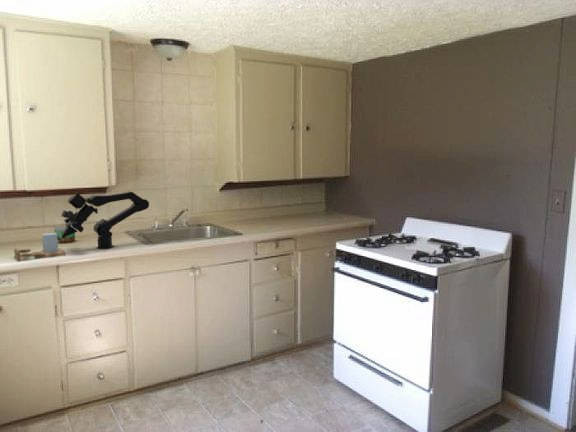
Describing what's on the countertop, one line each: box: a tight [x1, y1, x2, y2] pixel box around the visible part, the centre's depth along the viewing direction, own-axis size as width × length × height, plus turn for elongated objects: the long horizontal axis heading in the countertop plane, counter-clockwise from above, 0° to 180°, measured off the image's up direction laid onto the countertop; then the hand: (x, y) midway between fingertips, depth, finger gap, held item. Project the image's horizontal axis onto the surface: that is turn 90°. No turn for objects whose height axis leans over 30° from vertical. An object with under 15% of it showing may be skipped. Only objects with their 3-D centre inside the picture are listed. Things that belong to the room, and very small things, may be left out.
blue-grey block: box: [41, 232, 59, 253], centre depth 239 cm, size 6×5×9 cm
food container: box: [52, 225, 76, 244], centre depth 269 cm, size 12×6×10 cm, turn 126°
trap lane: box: [14, 247, 66, 262], centre depth 236 cm, size 21×12×4 cm, turn 127°
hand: (62, 237), depth 242 cm, fingers closed
